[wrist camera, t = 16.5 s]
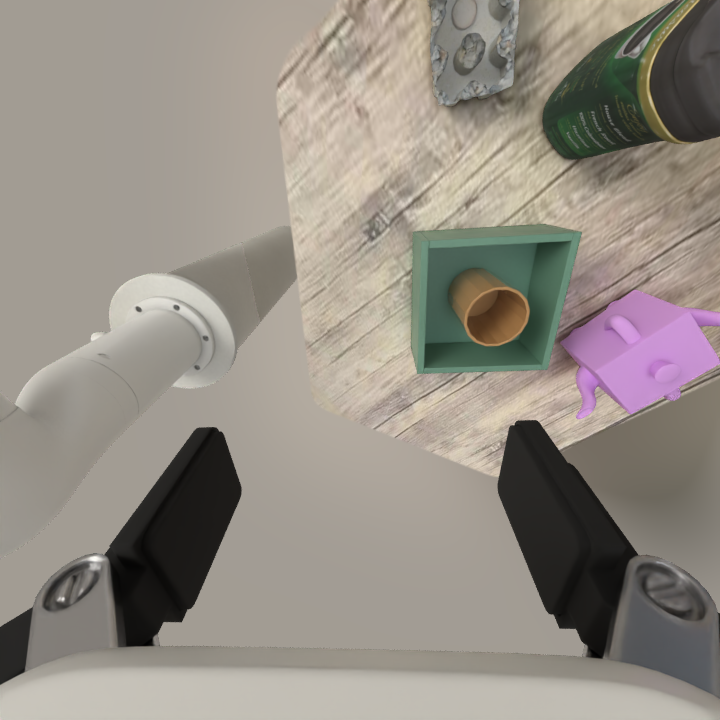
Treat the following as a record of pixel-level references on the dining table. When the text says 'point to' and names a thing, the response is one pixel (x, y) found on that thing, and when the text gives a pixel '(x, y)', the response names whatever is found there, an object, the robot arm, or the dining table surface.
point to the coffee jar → (643, 85)
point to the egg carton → (472, 48)
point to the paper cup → (487, 307)
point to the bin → (511, 263)
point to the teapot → (640, 351)
